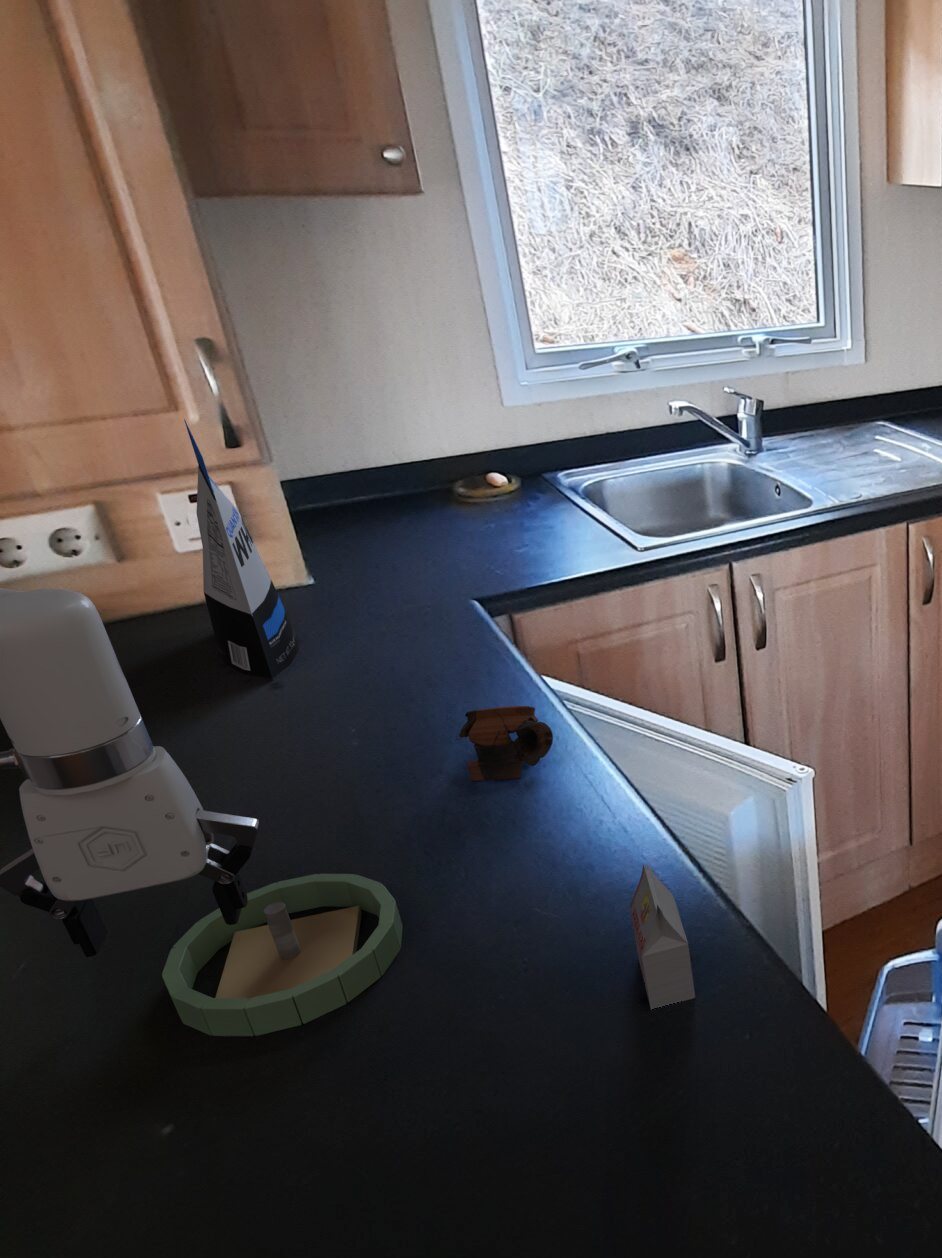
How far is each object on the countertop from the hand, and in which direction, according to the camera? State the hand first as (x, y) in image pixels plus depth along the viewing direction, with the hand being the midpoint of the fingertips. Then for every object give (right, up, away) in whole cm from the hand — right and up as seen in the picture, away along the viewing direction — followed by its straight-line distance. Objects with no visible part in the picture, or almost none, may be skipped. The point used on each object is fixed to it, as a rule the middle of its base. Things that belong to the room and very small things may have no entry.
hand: (168, 929), depth 86 cm
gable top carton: (+40, -5, +5) cm, 41 cm away
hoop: (+7, -4, +6) cm, 10 cm away
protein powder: (-33, +24, +61) cm, 74 cm away
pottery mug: (+14, +11, +35) cm, 39 cm away
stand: (+7, -4, +6) cm, 10 cm away
